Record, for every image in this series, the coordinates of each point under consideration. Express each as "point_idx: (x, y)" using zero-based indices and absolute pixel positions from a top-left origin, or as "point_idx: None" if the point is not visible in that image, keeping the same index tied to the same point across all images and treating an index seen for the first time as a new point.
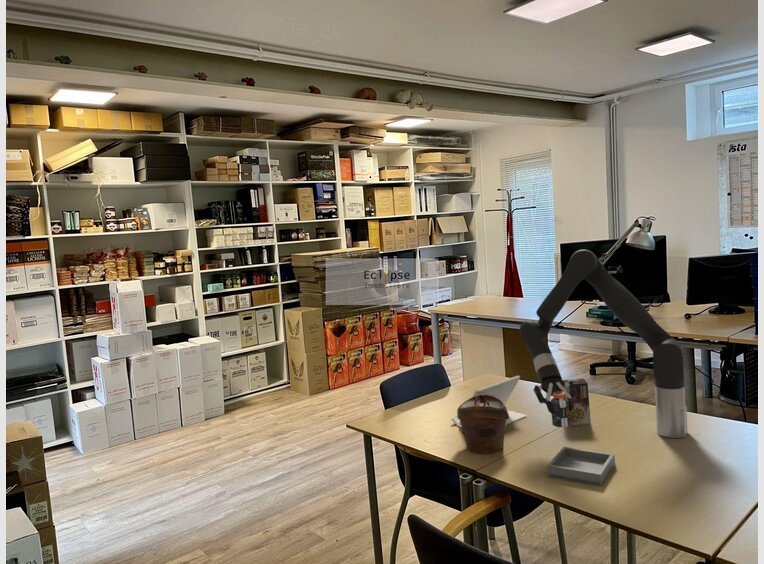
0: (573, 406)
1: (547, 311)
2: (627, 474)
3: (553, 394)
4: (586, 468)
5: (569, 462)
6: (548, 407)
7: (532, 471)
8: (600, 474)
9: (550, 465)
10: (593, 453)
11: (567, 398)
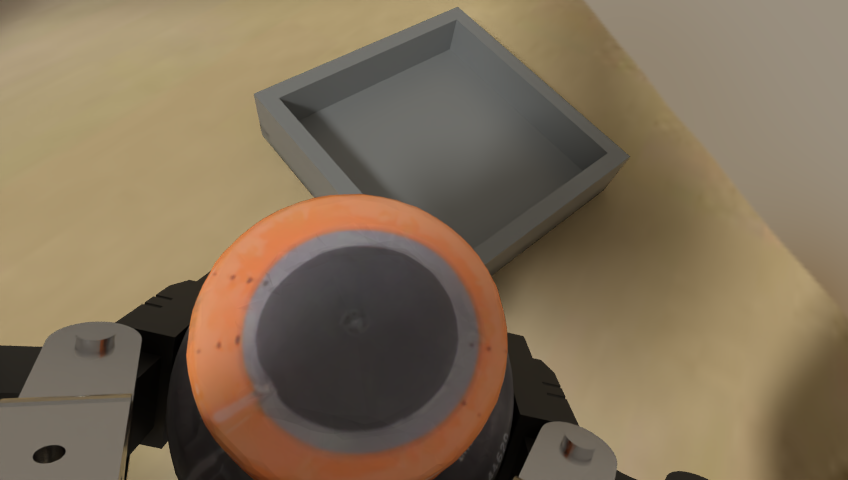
0: (184, 285)
1: None
2: (292, 59)
3: (505, 353)
4: (425, 137)
5: (461, 219)
6: (560, 399)
7: (654, 261)
8: (457, 7)
9: (614, 149)
10: (331, 161)
11: (143, 377)
